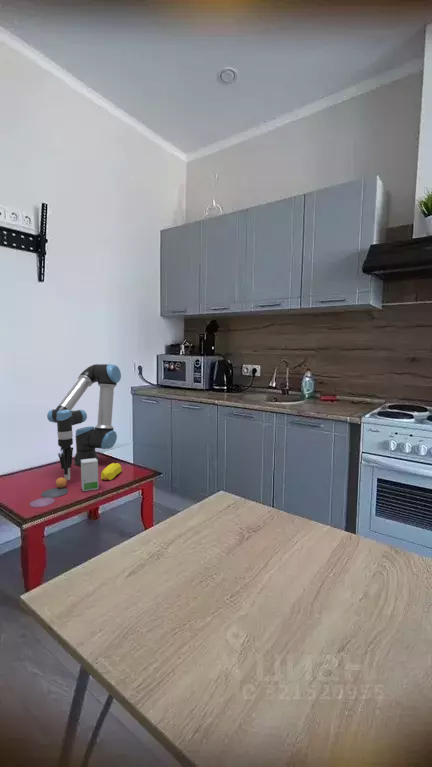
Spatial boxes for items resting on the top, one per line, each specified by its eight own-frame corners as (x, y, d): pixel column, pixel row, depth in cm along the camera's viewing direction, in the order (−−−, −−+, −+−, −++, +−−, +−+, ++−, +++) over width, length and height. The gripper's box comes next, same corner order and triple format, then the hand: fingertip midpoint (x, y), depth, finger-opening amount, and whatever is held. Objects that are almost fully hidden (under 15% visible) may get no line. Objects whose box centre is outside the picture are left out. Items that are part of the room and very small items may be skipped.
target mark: (49, 487, 200) (49, 487, 200) (72, 488, 199) (72, 487, 199) (35, 497, 187) (35, 497, 187) (60, 498, 186) (60, 497, 186)
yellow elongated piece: (123, 471, 225) (111, 471, 226) (123, 460, 224) (111, 460, 226) (111, 482, 207) (98, 481, 209) (110, 470, 207) (97, 470, 208)
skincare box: (82, 491, 194) (81, 463, 192) (81, 487, 199) (79, 459, 198) (99, 488, 197) (98, 460, 196) (97, 484, 203) (95, 457, 202)
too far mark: (37, 497, 187) (37, 497, 187) (58, 498, 186) (58, 497, 186) (24, 507, 176) (24, 506, 176) (47, 507, 175) (47, 507, 175)
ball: (52, 481, 196) (54, 489, 198) (62, 481, 196) (64, 490, 198) (57, 475, 201) (59, 483, 204) (67, 475, 201) (69, 483, 203)
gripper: (64, 435, 211) (66, 475, 213) (52, 441, 198) (54, 483, 200) (77, 435, 210) (79, 475, 213) (66, 441, 197) (68, 483, 200)
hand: (67, 479), depth 206 cm, fingers closed
